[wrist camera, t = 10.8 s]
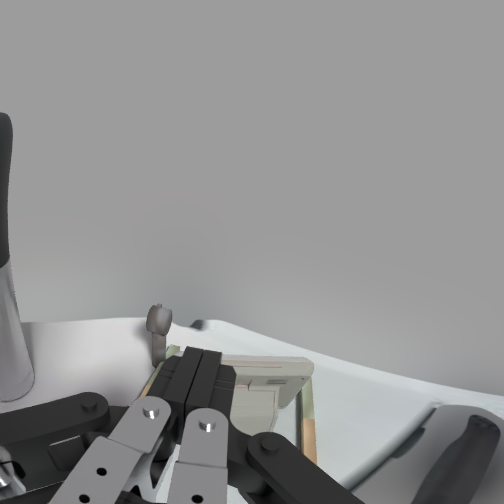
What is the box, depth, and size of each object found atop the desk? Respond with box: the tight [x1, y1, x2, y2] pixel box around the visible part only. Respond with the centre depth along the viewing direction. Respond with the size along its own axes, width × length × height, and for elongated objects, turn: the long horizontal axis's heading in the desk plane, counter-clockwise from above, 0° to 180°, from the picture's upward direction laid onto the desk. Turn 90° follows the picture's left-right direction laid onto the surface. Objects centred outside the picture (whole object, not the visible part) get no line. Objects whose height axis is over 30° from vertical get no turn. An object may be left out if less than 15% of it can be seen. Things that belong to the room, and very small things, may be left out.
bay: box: [139, 304, 317, 465], centre depth 33 cm, size 24×20×10 cm
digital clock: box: [174, 351, 314, 436], centre depth 33 cm, size 16×9×11 cm, turn 87°
